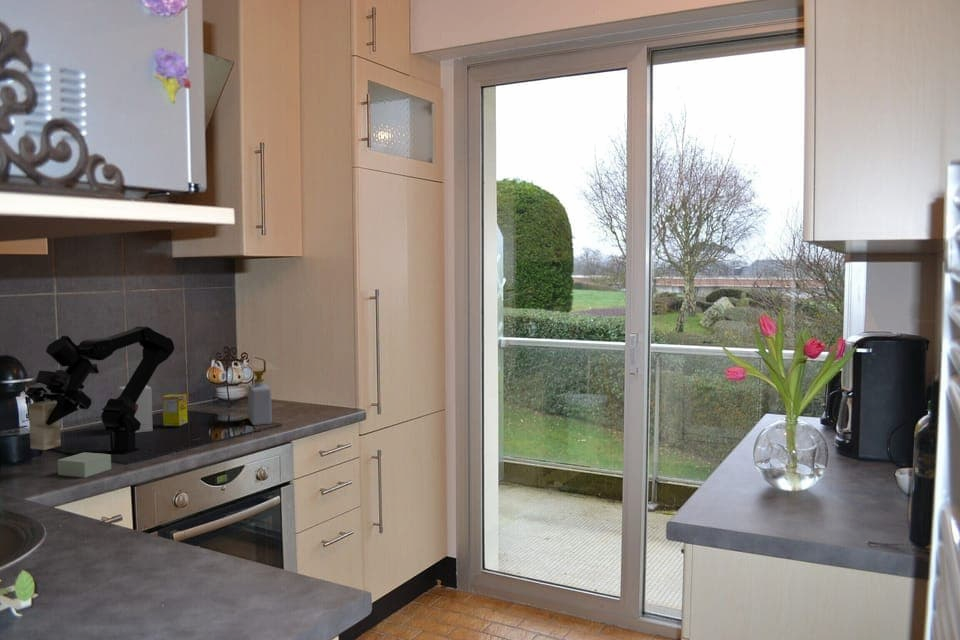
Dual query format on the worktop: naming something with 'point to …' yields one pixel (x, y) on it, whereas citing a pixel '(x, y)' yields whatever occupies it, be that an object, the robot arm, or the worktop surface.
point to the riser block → (84, 464)
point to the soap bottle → (259, 400)
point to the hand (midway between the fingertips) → (40, 423)
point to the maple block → (43, 426)
